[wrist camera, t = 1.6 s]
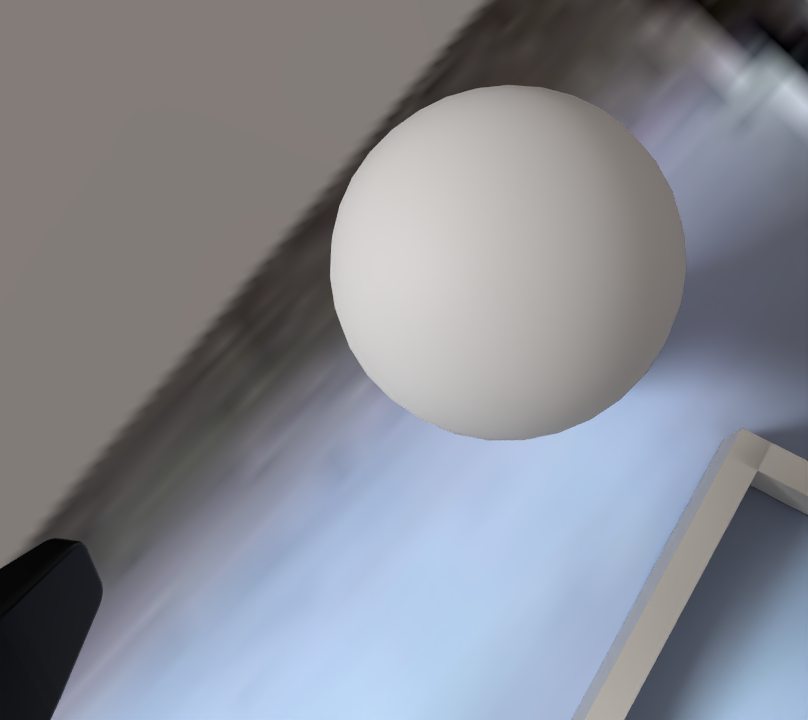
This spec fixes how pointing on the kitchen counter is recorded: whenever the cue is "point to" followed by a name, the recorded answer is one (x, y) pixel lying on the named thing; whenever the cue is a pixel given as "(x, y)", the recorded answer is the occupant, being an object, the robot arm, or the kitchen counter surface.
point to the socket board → (689, 563)
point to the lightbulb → (508, 262)
